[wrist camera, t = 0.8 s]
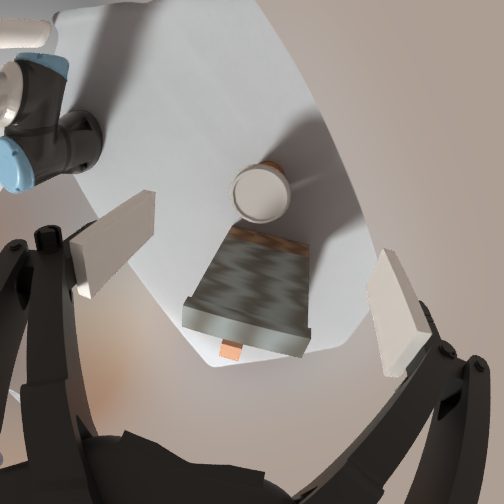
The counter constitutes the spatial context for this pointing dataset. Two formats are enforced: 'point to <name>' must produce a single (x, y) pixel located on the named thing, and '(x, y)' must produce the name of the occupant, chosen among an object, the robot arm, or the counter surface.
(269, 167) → the disposable coffee cup
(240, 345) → the peg
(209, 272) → the socket stand
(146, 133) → the counter surface
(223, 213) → the counter surface
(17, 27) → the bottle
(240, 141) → the counter surface
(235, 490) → the robot arm
